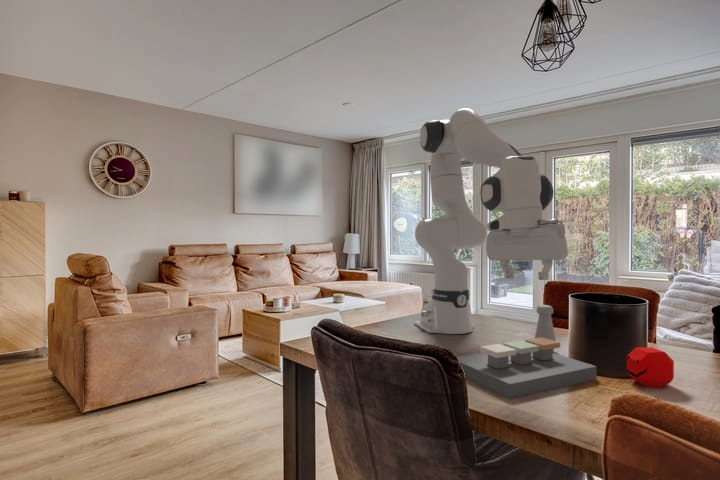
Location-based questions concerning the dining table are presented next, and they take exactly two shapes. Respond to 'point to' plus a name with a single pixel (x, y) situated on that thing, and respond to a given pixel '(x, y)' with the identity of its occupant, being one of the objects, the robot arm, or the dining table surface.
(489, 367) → the panel
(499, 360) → the cream button
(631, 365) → the ball
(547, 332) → the salt shaker
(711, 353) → the dining table surface
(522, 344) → the sage button
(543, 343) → the terracotta button
